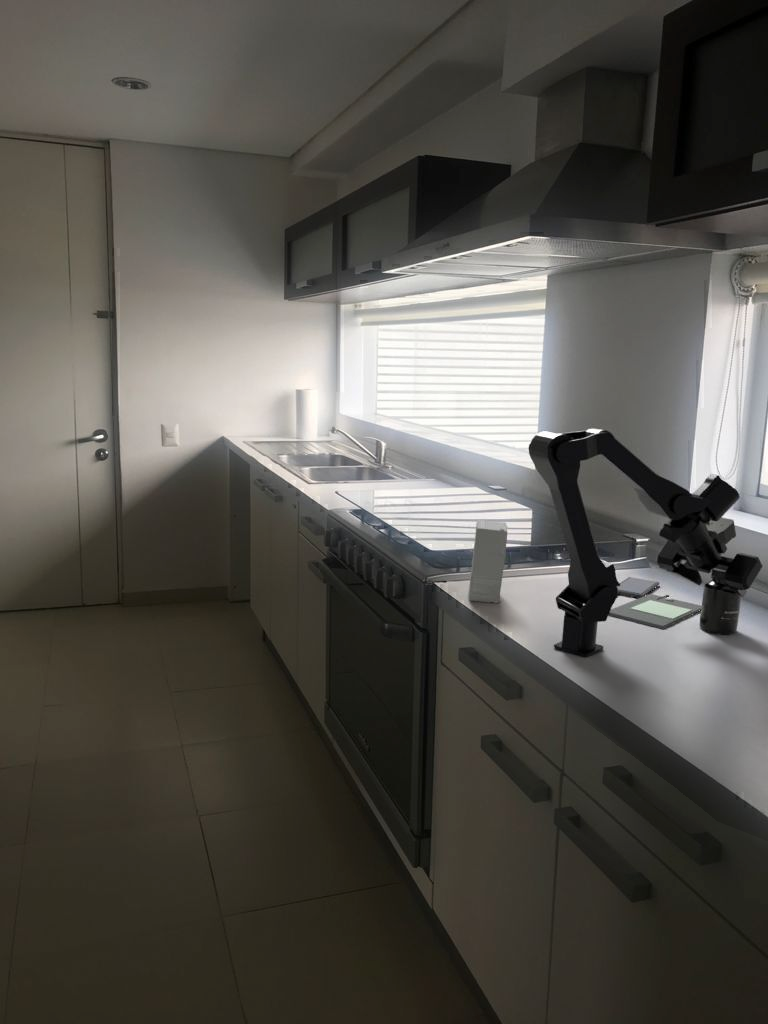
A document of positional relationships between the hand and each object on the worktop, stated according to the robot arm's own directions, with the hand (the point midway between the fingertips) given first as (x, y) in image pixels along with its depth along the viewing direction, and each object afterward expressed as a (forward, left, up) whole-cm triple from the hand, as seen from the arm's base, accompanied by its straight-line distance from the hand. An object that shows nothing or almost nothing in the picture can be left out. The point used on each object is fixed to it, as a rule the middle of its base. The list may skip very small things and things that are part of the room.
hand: (721, 589), depth 163 cm
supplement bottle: (0, 0, -8) cm, 8 cm away
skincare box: (-17, +42, -8) cm, 46 cm away
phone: (+15, +24, -8) cm, 30 cm away
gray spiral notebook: (+2, +13, -8) cm, 16 cm away
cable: (+11, +21, -8) cm, 25 cm away
